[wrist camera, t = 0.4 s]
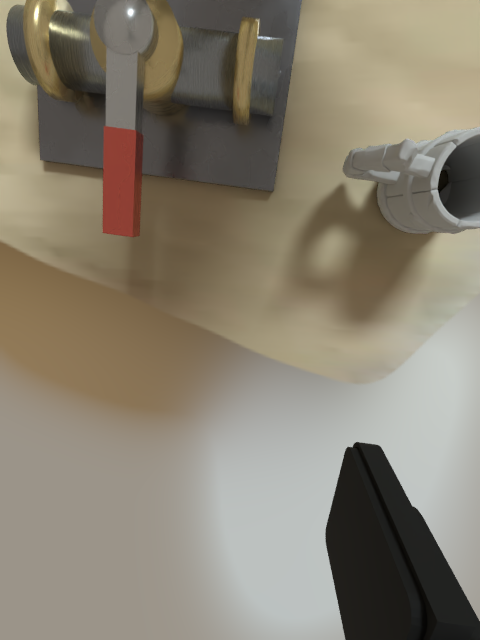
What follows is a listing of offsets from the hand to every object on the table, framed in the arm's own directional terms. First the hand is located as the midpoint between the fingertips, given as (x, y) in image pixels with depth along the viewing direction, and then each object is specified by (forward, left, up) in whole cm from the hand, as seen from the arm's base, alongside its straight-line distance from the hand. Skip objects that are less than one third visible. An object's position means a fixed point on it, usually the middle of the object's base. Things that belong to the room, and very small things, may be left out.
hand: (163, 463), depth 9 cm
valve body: (-17, -8, -27) cm, 33 cm away
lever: (-11, -9, -19) cm, 24 cm away
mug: (-11, +14, -28) cm, 33 cm away
